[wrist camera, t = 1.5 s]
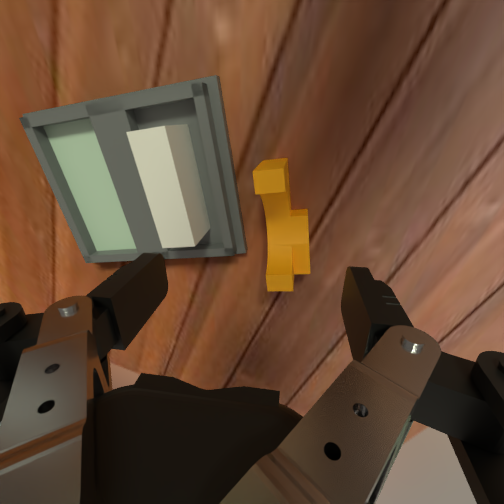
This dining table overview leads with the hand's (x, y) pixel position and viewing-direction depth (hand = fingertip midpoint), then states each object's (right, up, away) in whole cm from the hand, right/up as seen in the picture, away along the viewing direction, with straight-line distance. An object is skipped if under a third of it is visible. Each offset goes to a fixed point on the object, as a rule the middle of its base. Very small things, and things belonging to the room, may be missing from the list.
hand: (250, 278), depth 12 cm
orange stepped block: (+4, +5, +19) cm, 20 cm away
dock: (-12, +9, +20) cm, 25 cm away
